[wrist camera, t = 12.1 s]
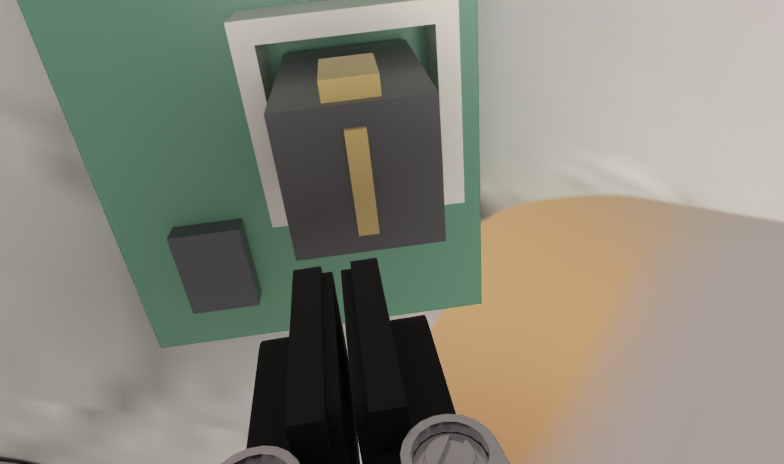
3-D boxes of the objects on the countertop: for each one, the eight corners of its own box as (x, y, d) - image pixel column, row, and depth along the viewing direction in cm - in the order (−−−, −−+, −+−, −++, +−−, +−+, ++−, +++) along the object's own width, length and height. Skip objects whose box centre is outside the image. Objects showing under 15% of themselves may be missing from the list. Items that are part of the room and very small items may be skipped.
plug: (414, 153, 22) (447, 243, 16) (304, 167, 22) (295, 263, 16) (404, 22, 20) (438, 70, 14) (280, 36, 20) (257, 92, 13)
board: (476, 289, 28) (494, 336, 25) (166, 331, 28) (146, 385, 25) (464, -270, 17) (495, -311, 14) (-53, -219, 17) (-142, -250, 13)
